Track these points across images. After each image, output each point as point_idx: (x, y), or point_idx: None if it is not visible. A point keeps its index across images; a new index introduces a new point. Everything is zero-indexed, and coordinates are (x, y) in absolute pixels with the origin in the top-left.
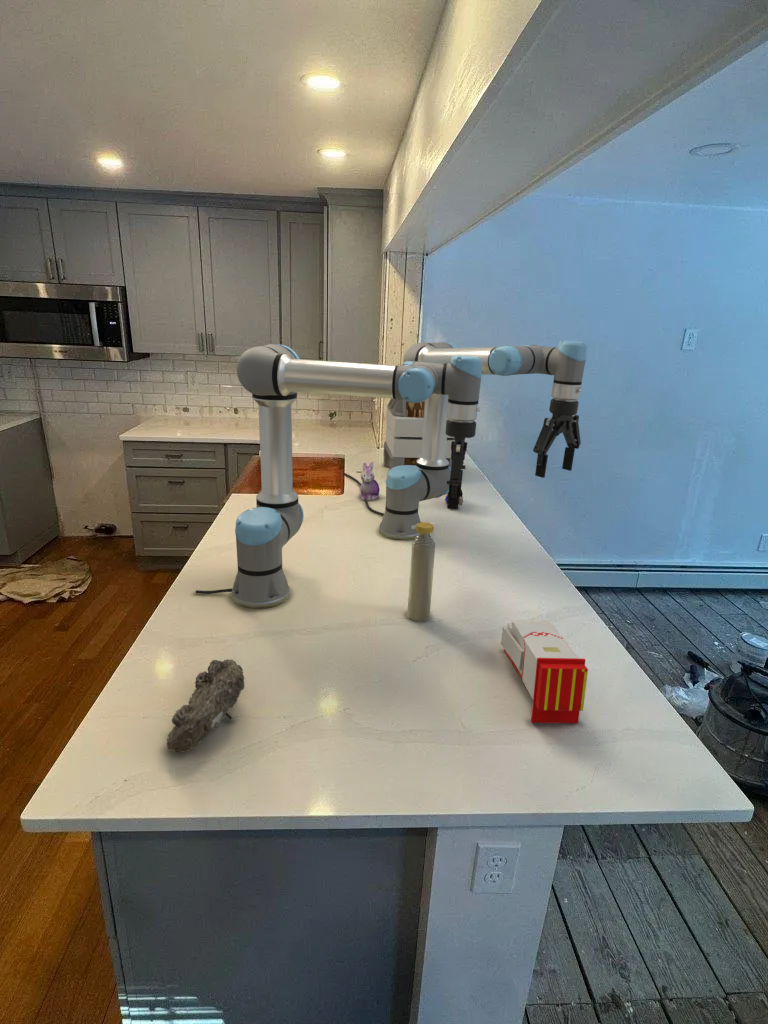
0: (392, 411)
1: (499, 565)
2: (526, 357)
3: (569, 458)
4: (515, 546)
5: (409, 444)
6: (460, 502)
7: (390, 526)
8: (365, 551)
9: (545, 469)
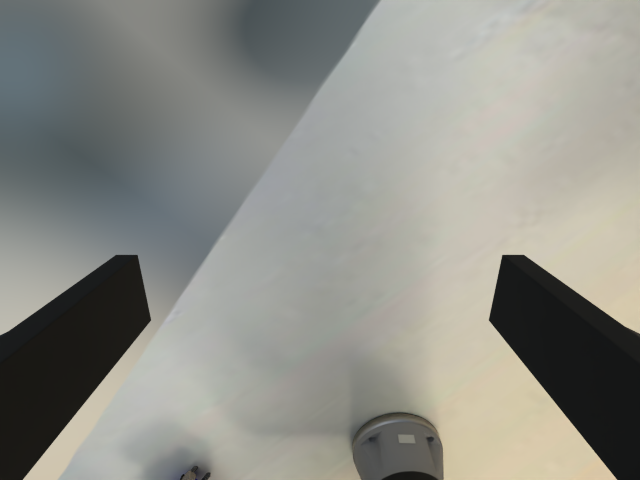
0: None
1: (365, 239)
2: None
3: (75, 336)
4: (244, 282)
5: None
6: (194, 478)
7: (442, 460)
8: (519, 420)
9: (551, 286)
